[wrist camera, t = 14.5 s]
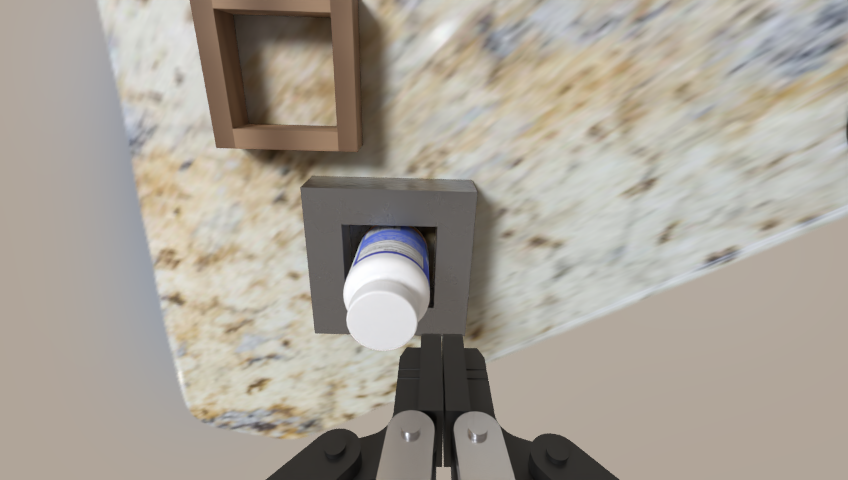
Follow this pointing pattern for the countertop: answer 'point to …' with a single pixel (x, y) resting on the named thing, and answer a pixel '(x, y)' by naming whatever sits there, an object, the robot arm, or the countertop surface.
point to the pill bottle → (387, 287)
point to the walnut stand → (225, 85)
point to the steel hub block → (393, 206)
